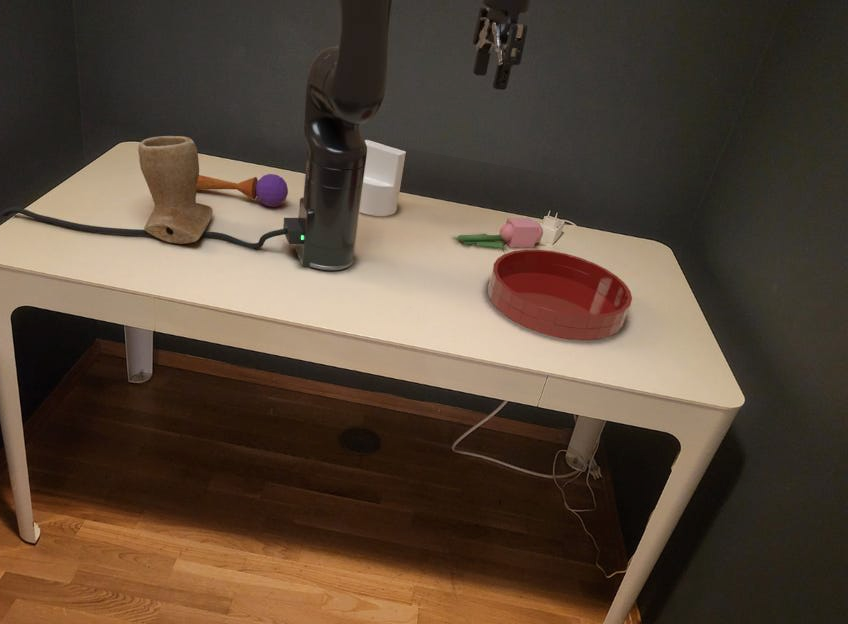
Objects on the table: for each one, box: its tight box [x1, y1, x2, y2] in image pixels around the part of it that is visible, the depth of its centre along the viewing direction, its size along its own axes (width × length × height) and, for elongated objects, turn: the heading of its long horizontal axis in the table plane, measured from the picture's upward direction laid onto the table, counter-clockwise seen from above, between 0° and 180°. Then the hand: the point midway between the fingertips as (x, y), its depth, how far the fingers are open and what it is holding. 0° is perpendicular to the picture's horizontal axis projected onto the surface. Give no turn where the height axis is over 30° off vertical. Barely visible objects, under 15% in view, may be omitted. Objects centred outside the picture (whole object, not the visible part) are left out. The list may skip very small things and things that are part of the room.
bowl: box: [487, 249, 633, 341], centre depth 121 cm, size 22×22×4 cm
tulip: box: [457, 217, 544, 249], centre depth 140 cm, size 17×6×4 cm, turn 106°
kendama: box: [196, 173, 289, 207], centre depth 140 cm, size 6×6×20 cm
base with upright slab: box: [359, 139, 407, 217], centre depth 144 cm, size 9×9×12 cm
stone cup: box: [137, 135, 214, 245], centre depth 124 cm, size 15×12×15 cm
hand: (489, 81), depth 126 cm, fingers open, 8 cm apart
